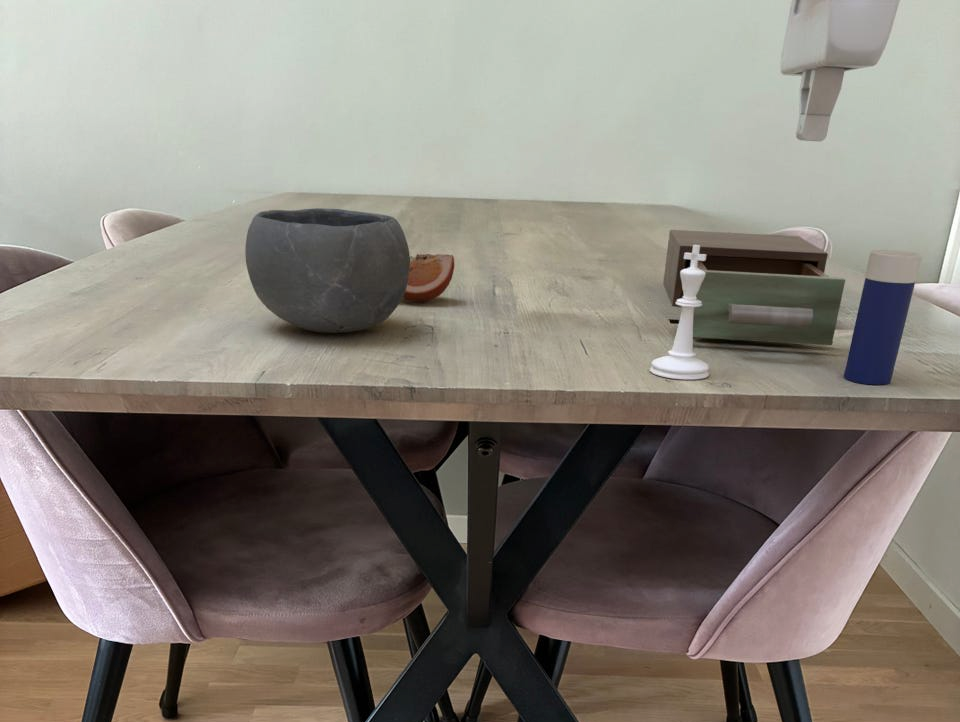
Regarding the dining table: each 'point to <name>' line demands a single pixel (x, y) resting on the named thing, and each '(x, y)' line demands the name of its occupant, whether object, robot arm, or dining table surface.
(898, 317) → the glue stick
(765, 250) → the cabinet
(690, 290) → the chess piece
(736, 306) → the drawer
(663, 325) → the dining table surface
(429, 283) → the fruit slice
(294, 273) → the bowl
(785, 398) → the dining table surface
